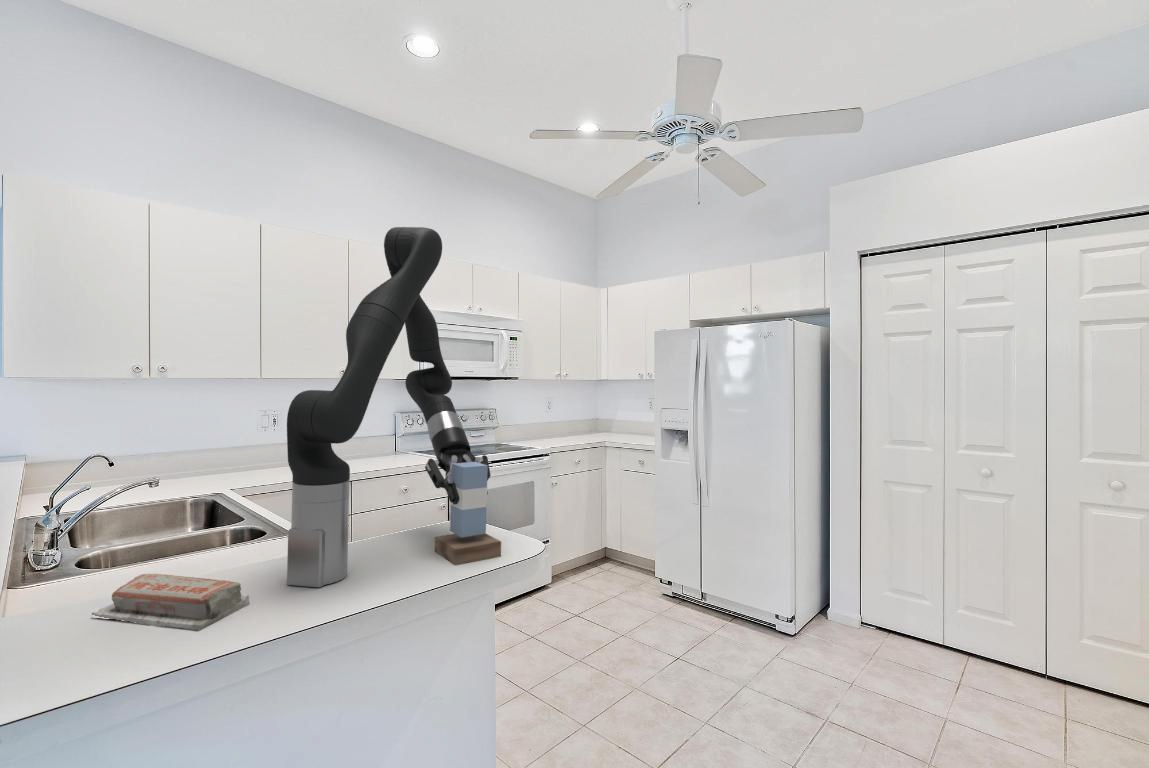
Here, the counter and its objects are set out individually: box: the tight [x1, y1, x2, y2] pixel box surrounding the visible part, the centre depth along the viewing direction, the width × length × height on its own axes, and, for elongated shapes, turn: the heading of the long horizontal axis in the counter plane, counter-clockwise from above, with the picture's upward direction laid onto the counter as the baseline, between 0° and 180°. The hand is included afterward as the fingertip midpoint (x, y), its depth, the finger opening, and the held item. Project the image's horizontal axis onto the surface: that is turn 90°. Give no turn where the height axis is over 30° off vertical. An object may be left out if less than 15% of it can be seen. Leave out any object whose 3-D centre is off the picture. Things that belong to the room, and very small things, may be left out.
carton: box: [449, 462, 488, 538], centre depth 112 cm, size 6×6×14 cm
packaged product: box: [91, 573, 250, 631], centre depth 82 cm, size 18×5×10 cm
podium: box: [434, 533, 502, 566], centre depth 112 cm, size 10×10×3 cm
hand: (470, 500), depth 111 cm, fingers closed on carton, 5 cm apart
